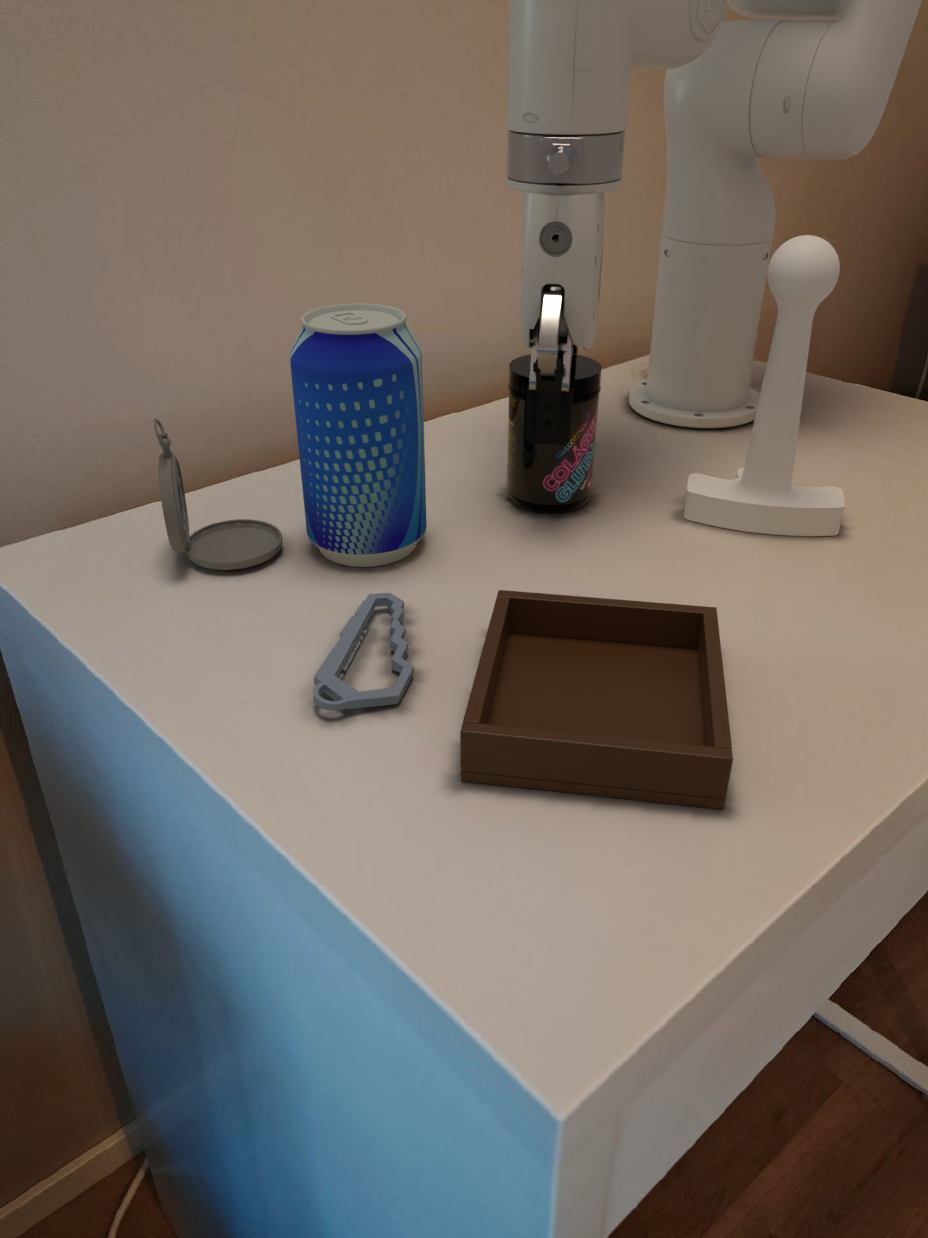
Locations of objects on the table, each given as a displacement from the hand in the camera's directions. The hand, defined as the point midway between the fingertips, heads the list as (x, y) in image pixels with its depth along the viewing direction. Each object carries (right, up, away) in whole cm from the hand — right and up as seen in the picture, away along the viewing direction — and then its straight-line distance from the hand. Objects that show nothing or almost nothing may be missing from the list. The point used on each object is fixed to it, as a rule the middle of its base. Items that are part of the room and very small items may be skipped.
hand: (552, 422), depth 72 cm
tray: (0, -20, -20) cm, 28 cm away
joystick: (+16, -7, +1) cm, 17 cm away
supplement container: (0, -5, +3) cm, 6 cm away
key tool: (-12, -17, -16) cm, 26 cm away
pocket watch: (-24, -10, -4) cm, 26 cm away
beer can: (-13, -10, -3) cm, 17 cm away
